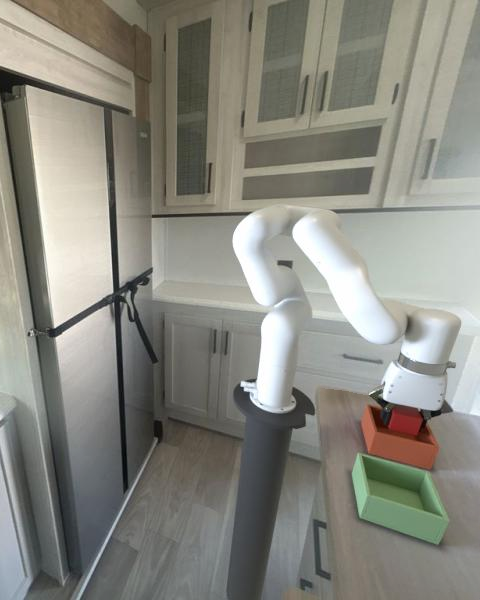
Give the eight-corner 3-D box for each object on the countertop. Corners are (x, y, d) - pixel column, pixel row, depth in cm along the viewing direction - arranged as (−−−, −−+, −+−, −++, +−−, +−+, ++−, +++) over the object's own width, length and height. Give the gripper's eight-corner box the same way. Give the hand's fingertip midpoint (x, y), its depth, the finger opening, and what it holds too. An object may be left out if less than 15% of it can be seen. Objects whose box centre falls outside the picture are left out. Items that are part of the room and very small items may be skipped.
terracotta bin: (368, 453, 82) (374, 432, 79) (360, 423, 91) (366, 403, 88) (430, 470, 76) (439, 448, 74) (416, 436, 85) (424, 415, 83)
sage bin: (359, 517, 68) (367, 495, 66) (351, 473, 77) (357, 452, 75) (438, 545, 62) (450, 521, 60) (419, 494, 72) (429, 471, 69)
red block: (389, 429, 80) (394, 413, 79) (384, 416, 84) (389, 400, 82) (417, 436, 78) (423, 419, 76) (411, 422, 82) (416, 406, 80)
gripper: (468, 361, 73) (443, 425, 80) (369, 347, 81) (354, 406, 88) (484, 380, 67) (455, 447, 74) (375, 363, 76) (358, 425, 82)
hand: (400, 424), depth 81 cm, fingers closed on red block, 5 cm apart
